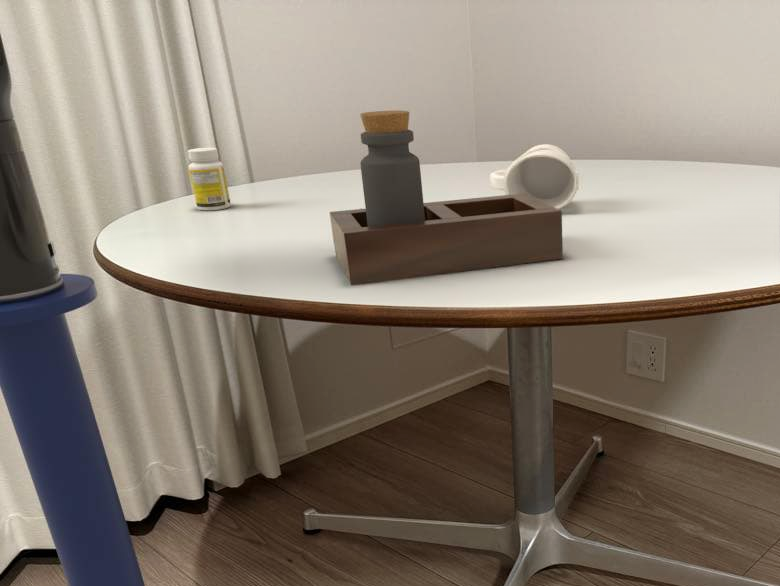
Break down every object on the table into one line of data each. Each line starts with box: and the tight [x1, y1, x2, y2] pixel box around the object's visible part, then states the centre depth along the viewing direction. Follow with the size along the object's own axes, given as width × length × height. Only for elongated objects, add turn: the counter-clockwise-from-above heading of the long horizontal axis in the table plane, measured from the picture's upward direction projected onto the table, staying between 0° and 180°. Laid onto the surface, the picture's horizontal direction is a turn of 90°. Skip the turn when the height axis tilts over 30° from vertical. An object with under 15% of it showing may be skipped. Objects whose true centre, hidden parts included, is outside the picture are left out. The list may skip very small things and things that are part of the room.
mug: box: [489, 143, 580, 210], centre depth 107 cm, size 12×9×8 cm
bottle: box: [359, 110, 425, 227], centre depth 80 cm, size 6×6×15 cm
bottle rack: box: [329, 194, 564, 286], centre depth 83 cm, size 12×22×5 cm, turn 110°
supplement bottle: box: [187, 147, 232, 211], centre depth 116 cm, size 5×5×8 cm
